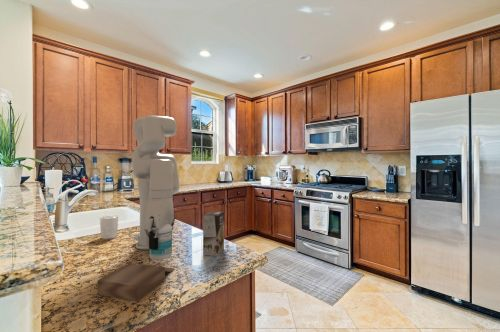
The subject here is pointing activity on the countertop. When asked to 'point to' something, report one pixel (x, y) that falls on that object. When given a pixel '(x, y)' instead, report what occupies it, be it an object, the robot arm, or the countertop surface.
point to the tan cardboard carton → (132, 281)
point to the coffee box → (213, 233)
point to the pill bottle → (163, 244)
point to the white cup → (109, 226)
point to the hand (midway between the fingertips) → (161, 244)
